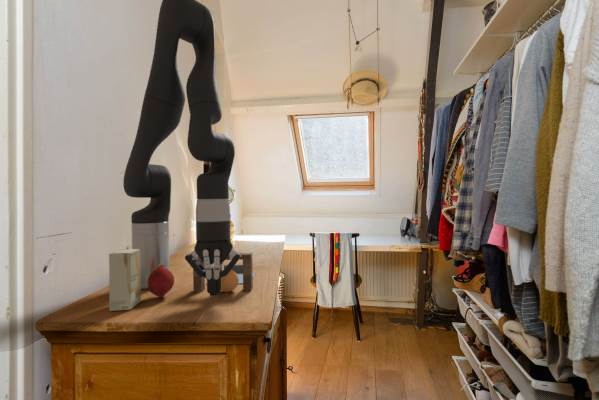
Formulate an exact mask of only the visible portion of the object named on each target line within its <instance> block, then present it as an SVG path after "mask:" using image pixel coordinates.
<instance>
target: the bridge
mask: <svg viewBox="0 0 599 400" xmlns="http://www.w3.org/2000/svg"><path fill="white" fill-rule="evenodd" d="M240 253H241V254H242V256H241V258H240V259H239V260H240V261H241V260H242V265H243V284H242V291H243V292H251V291H252V290H253V288H254V286H253V285H254V283H253V282H254V281H253V279H254V277H253V252H240ZM230 255H231V254H229V255H228V256H227V258H226V259H225V261H231V260H230ZM197 256H198V255H197ZM239 260H238V261H239ZM198 261H199V262H200V263H201V264H202V265H203V267H204V268H205V266H204V262H203V261H202V260H201V259H200V257H199V256H198ZM192 275H193V278H192V279H193V281H192V282H193V288H192V289H193V290H192V291H193V293H202V292H204V290H205V289H206V278H205V277H200V276H198V274H197V273H196V272H195V271H194V269H193V268H192Z"/></svg>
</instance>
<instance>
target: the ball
mask: <svg viewBox="0 0 599 400" xmlns="http://www.w3.org/2000/svg"><path fill="white" fill-rule="evenodd" d="M238 281H239V279H238V276H237V274H236V273H235V272H234V271H232V270H231V271H230V272H229V273H228V274H227V275H226V276H225V277H224V276H223V277H221V291H220V292H224V293H230V292H233V291H234V290H235V289H236V288H237V287H238V285H239V284H238Z"/></svg>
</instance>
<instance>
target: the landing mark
mask: <svg viewBox="0 0 599 400" xmlns="http://www.w3.org/2000/svg"><path fill="white" fill-rule="evenodd" d="M236 274H237V276H238V279H239V281H238V285H243V273H236ZM255 276H256V272H253V278H255ZM205 286H207V283H205Z"/></svg>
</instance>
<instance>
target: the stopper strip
mask: <svg viewBox="0 0 599 400" xmlns="http://www.w3.org/2000/svg"><path fill="white" fill-rule="evenodd" d="M227 265H228V264H223V270H224V269H225V268H226V267H227ZM231 270H232V271H234V272H235V273H243V264H235V265H234V267H233V268H232V269H231Z"/></svg>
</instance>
